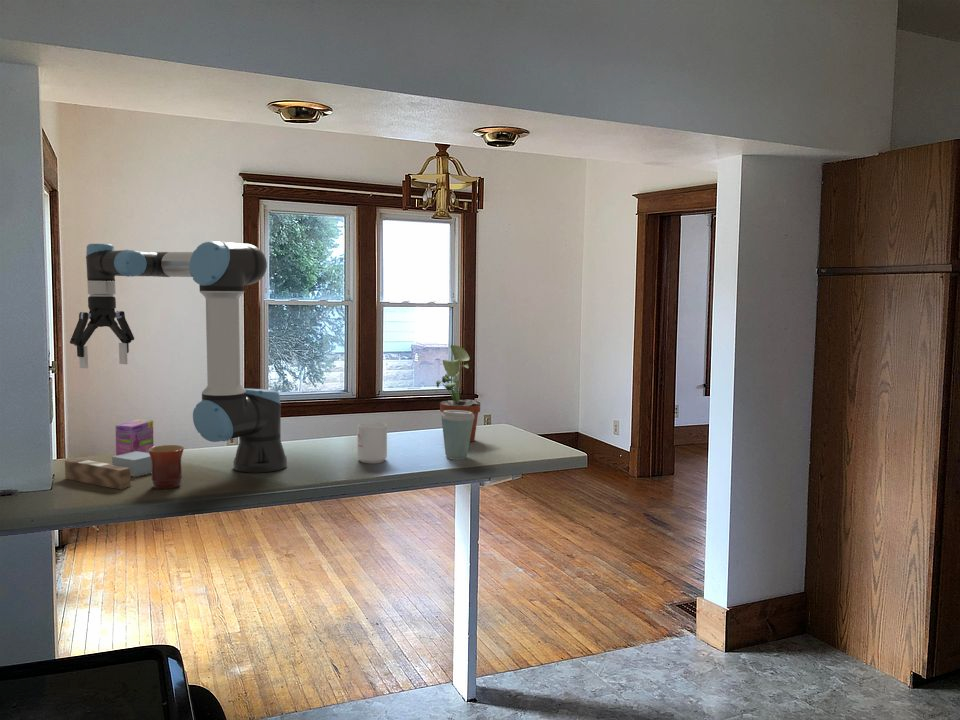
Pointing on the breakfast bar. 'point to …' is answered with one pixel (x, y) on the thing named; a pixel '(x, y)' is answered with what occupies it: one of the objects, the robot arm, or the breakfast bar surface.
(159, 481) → the mug
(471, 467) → the breakfast bar surface
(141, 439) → the box
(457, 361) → the potted plant
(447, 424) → the disposable coffee cup
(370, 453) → the mug
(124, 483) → the board
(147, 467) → the block
